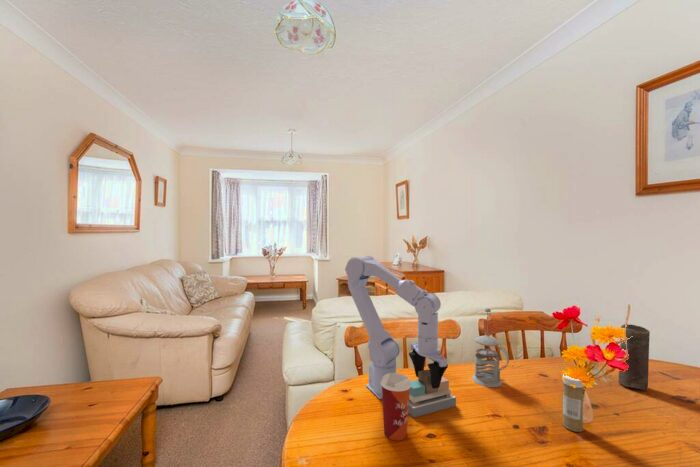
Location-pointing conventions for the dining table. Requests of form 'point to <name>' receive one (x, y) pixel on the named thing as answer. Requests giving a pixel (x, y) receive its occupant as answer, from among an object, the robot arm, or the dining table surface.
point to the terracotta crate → (443, 384)
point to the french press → (488, 361)
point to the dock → (431, 405)
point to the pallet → (423, 397)
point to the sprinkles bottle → (572, 404)
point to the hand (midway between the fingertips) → (427, 381)
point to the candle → (636, 358)
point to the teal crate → (417, 388)
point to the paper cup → (395, 405)
